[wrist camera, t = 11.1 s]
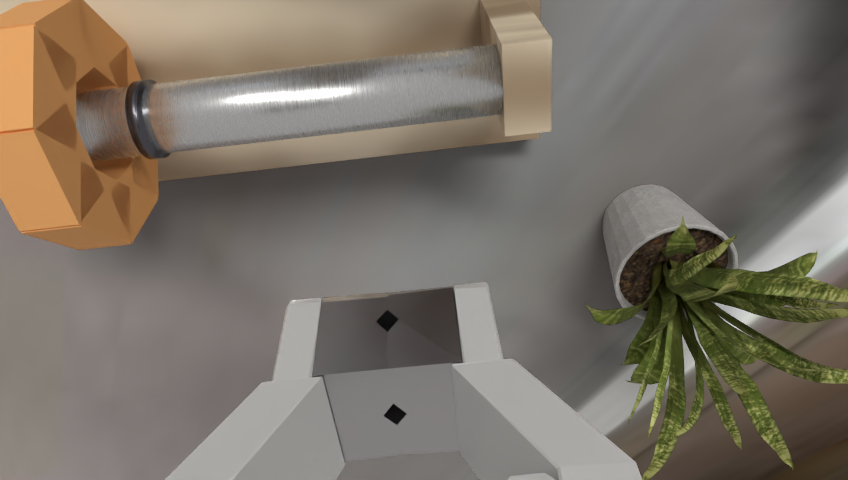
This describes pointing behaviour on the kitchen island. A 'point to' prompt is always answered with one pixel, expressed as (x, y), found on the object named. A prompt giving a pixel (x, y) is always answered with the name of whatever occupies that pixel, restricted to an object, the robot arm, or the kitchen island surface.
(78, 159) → the orange faceted ring
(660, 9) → the kitchen island surface
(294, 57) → the pipe stand
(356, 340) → the robot arm
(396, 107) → the steel pipe
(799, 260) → the house plant
